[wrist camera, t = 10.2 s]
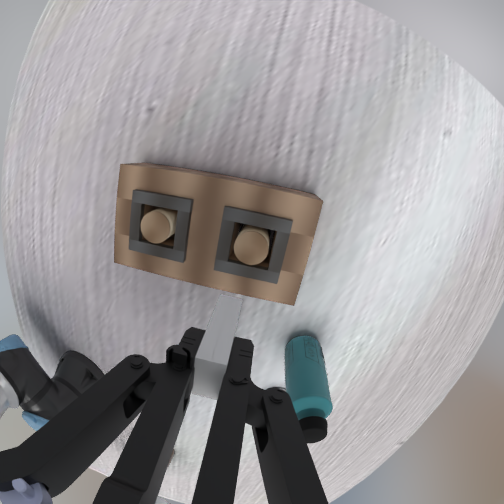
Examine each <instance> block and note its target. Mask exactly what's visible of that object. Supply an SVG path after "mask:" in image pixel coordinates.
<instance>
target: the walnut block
mask: <svg viewBox="0 0 504 504" xmlns="http://www.w3.org/2000/svg"><path fill="white" fill-rule="evenodd" d="M322 204H323V201H322V200H321V199H320V198H319V197H318V196H316V195H315V194H311V193H307V192H303V191H299V190H294V189H290V188H286V187H281V186H277V185H272V184H268V183H263V182H258V181H253V180H248V179H243V178H238V177H233V176H227V175H222V174H216V173H210V172H204V171H198V170H192V169H186V168H179V167H172V166H165V165H157V164H150V163H131V164H120V172H119V181H118V191H117V203H116V218H115V241H114V262H115V263H118V264H122V265H125V266H129V267H132V268H136V269H140V270H143V271H147V272H151V273H155V274H158V275H162V276H166V277H170V278H174V279H178V280H182V281H186V282H190V283H194V284H198V285H202V286H206V287H210V288H215V289H219V290H223V291H228V292H232V293H236V294H241V295H245V296H250V297H255V298H259V299H264V300H269V301H273V302H278V303H283V304H288V305H293V306H294V304H295V301H296V298H297V294H298V291H299V288H300V284H301V281H302V278H303V274H304V271H305V267H306V264H307V260H308V257H309V253H310V250H311V246H312V242H313V239H314V235H315V231H316V227H317V223H318V219H319V216H320V212H321V208H322ZM161 207H163V208H168V209H173V210H178V213H177V220H176V229H175V233H174V234H173V235H171V236H170V237H169V238H167V239H166V240H165V241H163V242H161V243H151V242H149V241H148V240H147V239H146V238H145V237H144V236H143V234H142V231H141V221H142V219H143V217H144V216H145V215H146V214H147V213H149V212H151V211H154V210H156V209H158V208H161ZM240 223H242V224H247V225H252V226H256V227H261V228H266V229H270V230H274V234H273V238H272V243H271V247H270V250H268V254H267V257H266V258H265V259H264V260H263V261H262V262H261V263H259V264H255V265H248V264H245V263H243V262H241V261H240V260H239V259H238V258H237V257H236V255H235V252H234V243H235V241H236V239H237V237H238V234H239V228H240Z"/></svg>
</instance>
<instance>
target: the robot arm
mask: <svg viewBox="0 0 504 504" xmlns="http://www.w3.org/2000/svg"><path fill="white" fill-rule="evenodd" d="M242 301H243V299H241V298H236V297H232V296H227V295H223V294H220V297H219V299H218V302H217V304H216V307H215V309H214V312H213V314H212V317H211V319H210V321H209V324H208V326H207V329H206V330H202V329H198V328H194V327H191V328H189V329H188V330H186V332H185V334H184V336H183V337H182V339H181V342H180V343H179V345H173V346H171V347H169V348H168V349H167V350H166V363H160V364H156V363H150V362H149V361H148V359H147V358H146V357H144V356H142V355H136V354H134V355H130V356H128V357H126V358H125V359H124V360H122V361H121V362H120V363H119V364H118V365H116V366H115V367H114V368H113V369H112V370H110V371H109V372H108V373H107V374H105V375H103V373H102V372H101V371H100V369H99V368H98V367H97V366H96V365H95V364H94V363H93V362H91V361H90V360H89V359H88V358H86V357H85V356H83V355H81V354H79V353H77V352H74V351H68V352H66V353H65V354H64V355H63V356H62V357H61V359H60V361H59V364H58V367H57V369H56V372H55V375H54V376H53V378H52V379H50V377H49V376H48V375H47V374H46V372H45V371H44V370H43V369H42V367H41V366H40V365H39V363H38V362H37V361H36V359H35V358H34V357H33V355H32V354H31V352H30V351H29V350H28V349H29V348H28V347H27V346H26V345H25V344H24V342H23V341H22V340H21V339H20V337H19V336H18V335H15V334H13V335H10V336H8V337H6V338H4V339H2V340H1V341H0V418H1V417H2V415H3V414H4V413H5V411H6V410H7V409H8V407H11V408H17V407H18V406H19V405H20V406H21V407H22V409H23V410H24V411H23V412H22V413H23V414H22V417H23V419H24V420H25V421H26V422H27V423H28V424H29V425H30V426H31V427H32V428H33V429H34V430H36V432H35V433H34V434H33V435H32V436H30V437H29V438H28V439H27V440H25V441H24V442H23V443H22V444H21V445H20V446H18V447H15V448H12V449H8V450H5V451H1V452H0V500H1V502H2V504H52V499H51V498H53V497H55V496H57V495H59V494H60V493H62V492H63V491H64V490H66V489H67V488H68V487H69V486H70V485H71V484H72V483H73V482H74V481H75V480H76V479H77V478H78V477H79V476H80V475H81V474H82V473H83V472H84V471H85V470H86V469H87V468H88V467H89V466H90V465H91V464H92V463H93V462H94V461H95V460H96V459H97V458H98V457H99V456H100V455H101V454H102V453H103V452H104V450H105V449H106V448H107V447H108V446H109V445H110V444H111V443H112V442H113V441H114V440H115V439H116V438H117V437H118V436H119V435H120V434H121V433H122V432H123V430H124V429H125V428H126V427H127V426H128V425H129V424H130V423H131V422H132V421H133V420H134V419H135V418H136V417H137V415H138V414H139V413H140V412H141V411H142V412H141V414H140V416H139V418H138V420H137V422H136V424H135V426H134V428H133V430H132V432H131V434H130V436H129V439H128V441H127V443H126V445H125V447H124V449H123V451H122V453H121V455H120V458H119V460H118V462H117V464H116V466H115V468H114V471H113V473H112V474H111V476H110V477H107V478H106V479H104V481H103V482H102V484H101V486H100V488H99V490H98V493H97V495H96V497H95V499H94V501H93V504H155V502H156V499H157V496H158V493H159V490H160V487H161V484H162V481H163V478H164V475H165V472H166V469H167V466H168V463H169V460H170V457H171V454H172V451H173V448H174V445H175V442H176V439H177V436H178V433H179V430H180V427H181V424H182V421H183V419H184V416H185V413H186V410H187V407H188V404H189V400H190V394H191V391H192V394H195V395H199V396H203V397H207V398H211V399H215V400H217V404H216V408H215V412H214V416H213V420H212V424H211V428H210V432H209V436H208V440H207V444H206V448H205V452H204V456H203V460H202V464H201V468H200V472H199V476H198V480H197V484H196V488H195V492H194V496H193V500H192V504H233V503H234V496H235V490H236V483H237V476H238V470H239V463H240V456H241V449H242V442H243V435H244V427H245V423H247V424H249V425H252V430H253V435H254V440H255V445H256V449H257V454H258V459H259V463H260V468H261V473H262V477H263V481H264V486H265V490H266V495H267V499H268V503H269V504H328V501H327V499H326V496H325V493H324V490H323V488H322V485H321V482H320V479H319V477H318V474H317V471H316V468H315V465H314V463H313V460H312V457H311V454H310V452H309V449H308V446H307V443H306V440H305V437H304V435H303V432H302V429H301V426H300V423H299V420H298V418H297V415H296V412H295V409H294V406H293V403H292V400H291V398H290V396H289V394H288V393H287V392H286V391H285V390H282V389H280V388H269V389H267V390H263V389H261V388H259V387H257V386H256V385H255V384H254V383H253V382H252V381H251V378H250V373H251V365H252V357H253V350H254V345H253V343H252V341H251V340H248V339H243V338H239V337H235V333H236V329H237V324H238V320H239V315H240V310H241V305H242Z"/></svg>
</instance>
